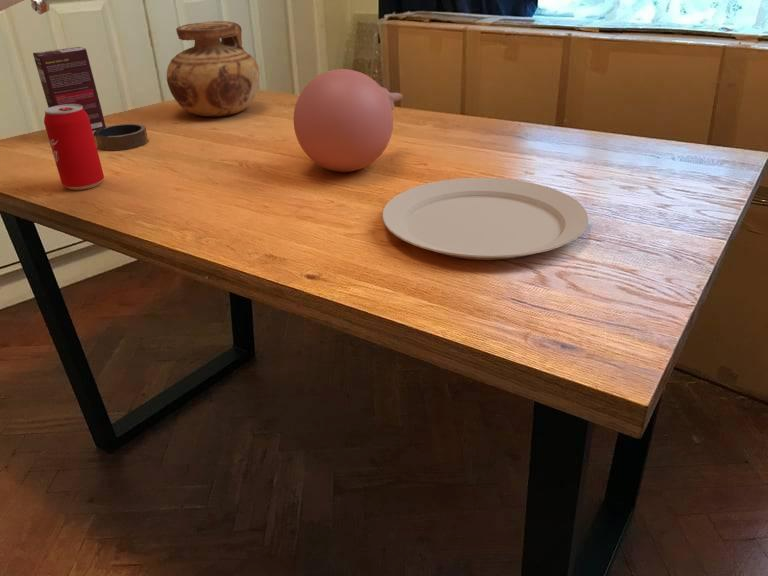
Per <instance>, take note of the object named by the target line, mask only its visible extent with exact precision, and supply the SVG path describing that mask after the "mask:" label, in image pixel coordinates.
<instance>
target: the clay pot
mask: <svg viewBox="0 0 768 576" xmlns="http://www.w3.org/2000/svg"><path fill="white" fill-rule="evenodd" d="M175 31H176V35H177V37H178V40H182V41H194V44H193V45H194V46H192V47H189V48H187V49H185V50H182V51H181V52H179V53H177V54H176V55H175V56H173V58H171V60H170V62H169V64H168V66H167V69H166V82H167V86H168V89H169V90H170V93H171V95H172V97H173V98H174V100H175V101H176V102H177V104H178V105H179V106H180V107H181V108H182V109H183V110H185V111H187V112H188V113H190V114H193V115H196V116H201V117H207V118H219V117H226V116H231V115H235V114H238V113H240V112H242V111H244V110H245V109H247V108H248V107H250V106H251V104H252V103H253V101H254V100H255V99H256V96H257V93H258V89H259V85H260V77H261V76H260V74H261V73H260V67H259V64H258V63H257V61H256V59H255V58H254V57H253V56H252V55H251V54H250V53H248V52H247V51H246V50H245V49H244V47H243V41H242V40H243V39H242V27H241V25H240V24H239V23H236V22H233V21H227V20H221V21H219V20H218V21H216V20H213V21H209V20H208V21H202V22H194V23H187V24H183V25H180V26H177V28H176V29H175Z"/></svg>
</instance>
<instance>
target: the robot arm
mask: <svg viewBox="0 0 768 576" xmlns="http://www.w3.org/2000/svg"><path fill="white" fill-rule="evenodd" d="M24 1H25V0H0V12H3V10H7V9H8V8H11V7H13V6H15V5H17V4H19V3H22V2H24ZM30 2H31V4H30V6H31V8H32V9H33V11H34V12H37V14H39V15H42V14H45V13H47V12H49V11H50V2H51V0H30Z"/></svg>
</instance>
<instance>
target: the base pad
mask: <svg viewBox="0 0 768 576" xmlns="http://www.w3.org/2000/svg"><path fill="white" fill-rule="evenodd" d="M93 135H94V139H95V143H96V147H97V150H100V151H106V152H114V151H115V152H116V151H118V152H119V151H127V150H131V149H136V148H139V147H141V146H144V145H146V144H147V143H148V142H149V137H148V132H147V126H146V125H144V124H140V123H120V124H119V123H118V124H113V125H107V126H106V127H104V128H101V129H98V130H96V131H95V132H94V134H93Z"/></svg>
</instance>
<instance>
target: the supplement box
mask: <svg viewBox="0 0 768 576" xmlns="http://www.w3.org/2000/svg"><path fill="white" fill-rule="evenodd" d="M32 55H33V59H34V62H35V66H36V69H37V74H38V77H39V81H40V84H41V87H42V90H43V94H44V98H45V101H46V105H47V108H50V107H53V106H58V105H64V104H80V105H82V107H83V109H84V110H85V112H86V113H87V114H88V116H89V120H90V124H91V127H92V131H93V134H94V132H95V131H96V130H98V129H101V128H104V127H107V126H106V121H105V117H104V113H103V110H102V105H101V103H100V98H99V93H98V90H97V86H96V82H95V79H94V75H93V70H92V66H91V62H90V59H89V55H88V51H87V48H85V47H81V46H75V47H67V48H60V49H59V48H58V49H53V50H46V51H38V52H32Z"/></svg>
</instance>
